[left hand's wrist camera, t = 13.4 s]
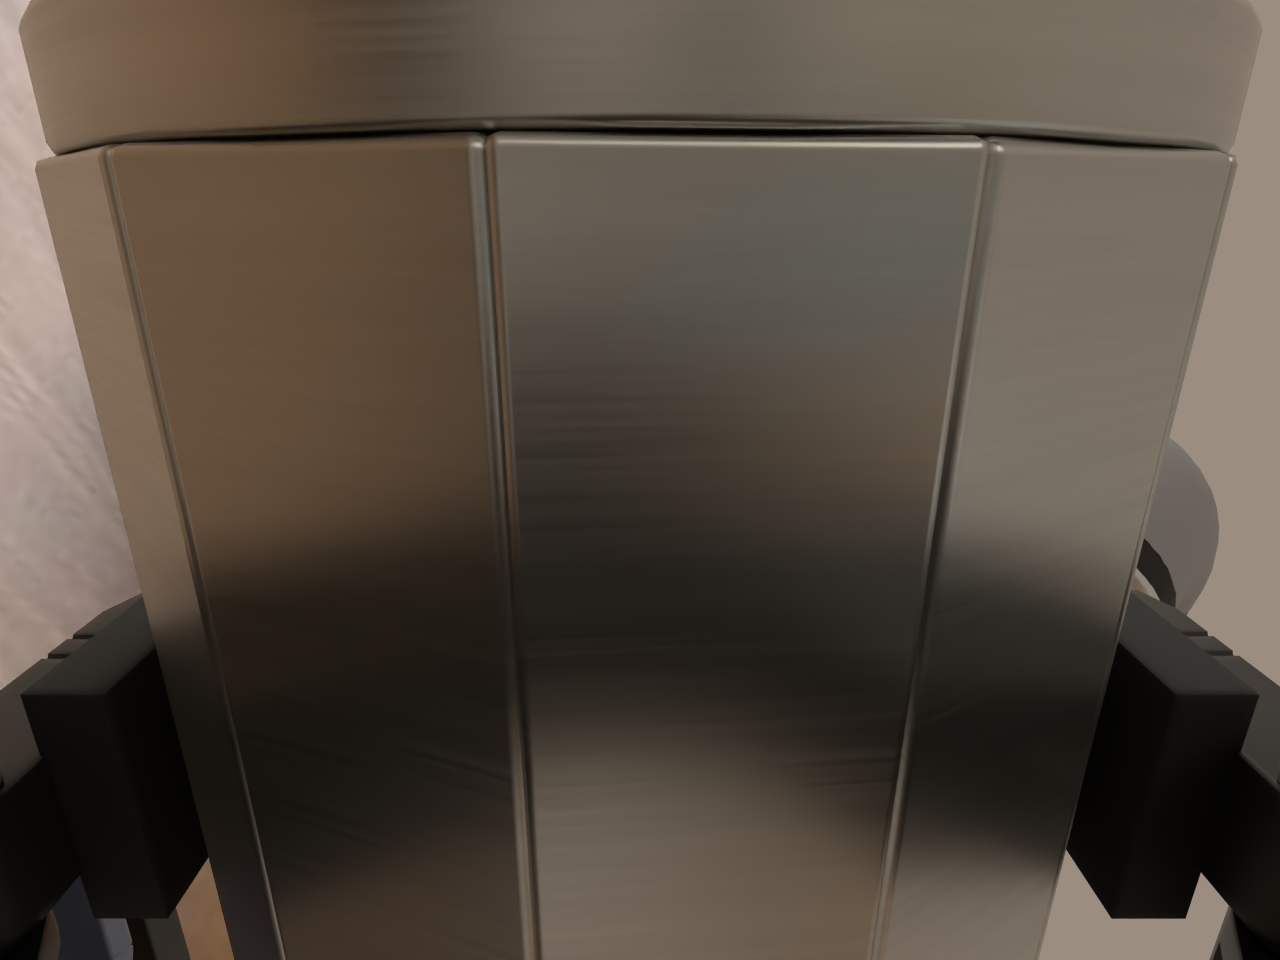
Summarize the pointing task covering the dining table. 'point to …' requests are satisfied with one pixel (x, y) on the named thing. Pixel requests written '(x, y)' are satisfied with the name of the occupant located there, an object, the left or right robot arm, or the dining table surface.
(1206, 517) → the right robot arm
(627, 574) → the beaker
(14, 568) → the dining table surface
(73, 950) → the tub
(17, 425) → the dining table surface
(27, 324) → the dining table surface
